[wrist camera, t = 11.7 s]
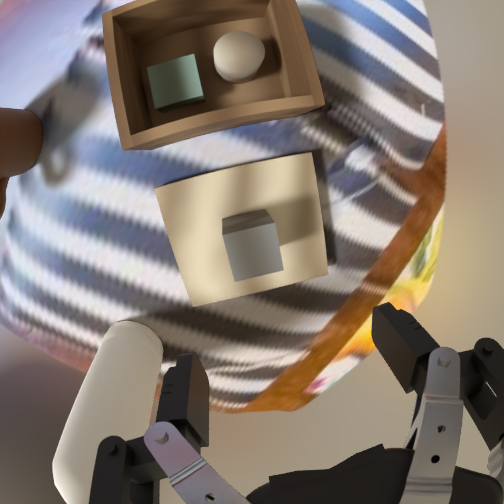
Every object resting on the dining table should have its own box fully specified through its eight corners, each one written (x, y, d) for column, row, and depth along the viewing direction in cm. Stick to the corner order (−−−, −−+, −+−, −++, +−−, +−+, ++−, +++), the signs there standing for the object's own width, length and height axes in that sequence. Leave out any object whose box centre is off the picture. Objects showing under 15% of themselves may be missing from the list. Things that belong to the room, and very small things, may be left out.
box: (268, 14, 19) (285, -26, 12) (295, 116, 24) (325, 104, 16) (131, 44, 19) (102, 14, 11) (151, 149, 23) (122, 150, 16)
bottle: (150, 314, 29) (90, 588, 2) (173, 362, 32) (157, 593, 5) (96, 323, 29) (10, 543, 1) (122, 368, 32) (78, 568, 4)
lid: (305, 152, 25) (332, 153, 19) (322, 266, 30) (347, 297, 23) (159, 185, 25) (138, 198, 18) (194, 297, 30) (188, 336, 23)
